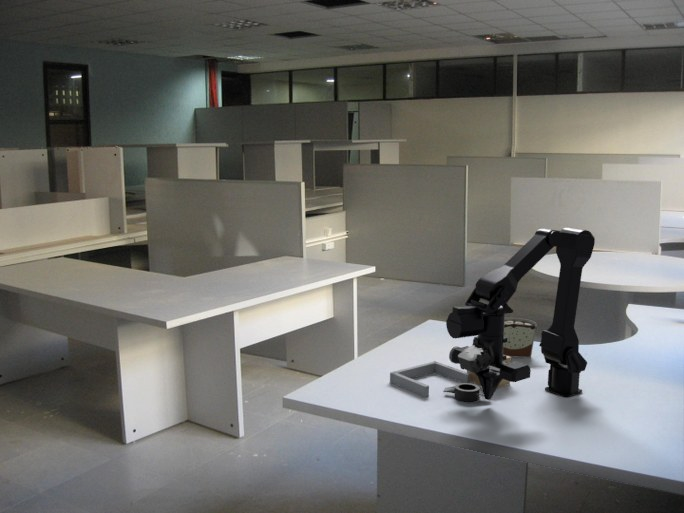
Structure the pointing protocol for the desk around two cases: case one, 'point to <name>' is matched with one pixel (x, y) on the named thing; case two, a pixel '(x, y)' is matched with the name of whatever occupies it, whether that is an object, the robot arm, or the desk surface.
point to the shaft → (451, 353)
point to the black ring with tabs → (465, 392)
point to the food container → (519, 337)
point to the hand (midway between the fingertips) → (487, 399)
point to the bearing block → (503, 382)
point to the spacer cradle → (406, 375)
